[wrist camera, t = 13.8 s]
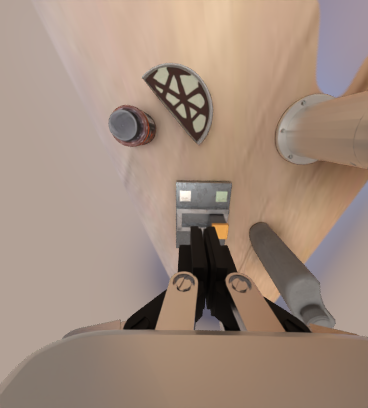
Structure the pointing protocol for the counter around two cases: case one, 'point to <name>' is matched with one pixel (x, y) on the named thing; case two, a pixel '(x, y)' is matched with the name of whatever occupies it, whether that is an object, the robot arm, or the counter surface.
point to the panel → (199, 206)
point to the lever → (219, 225)
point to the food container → (183, 97)
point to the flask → (290, 277)
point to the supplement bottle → (131, 126)
